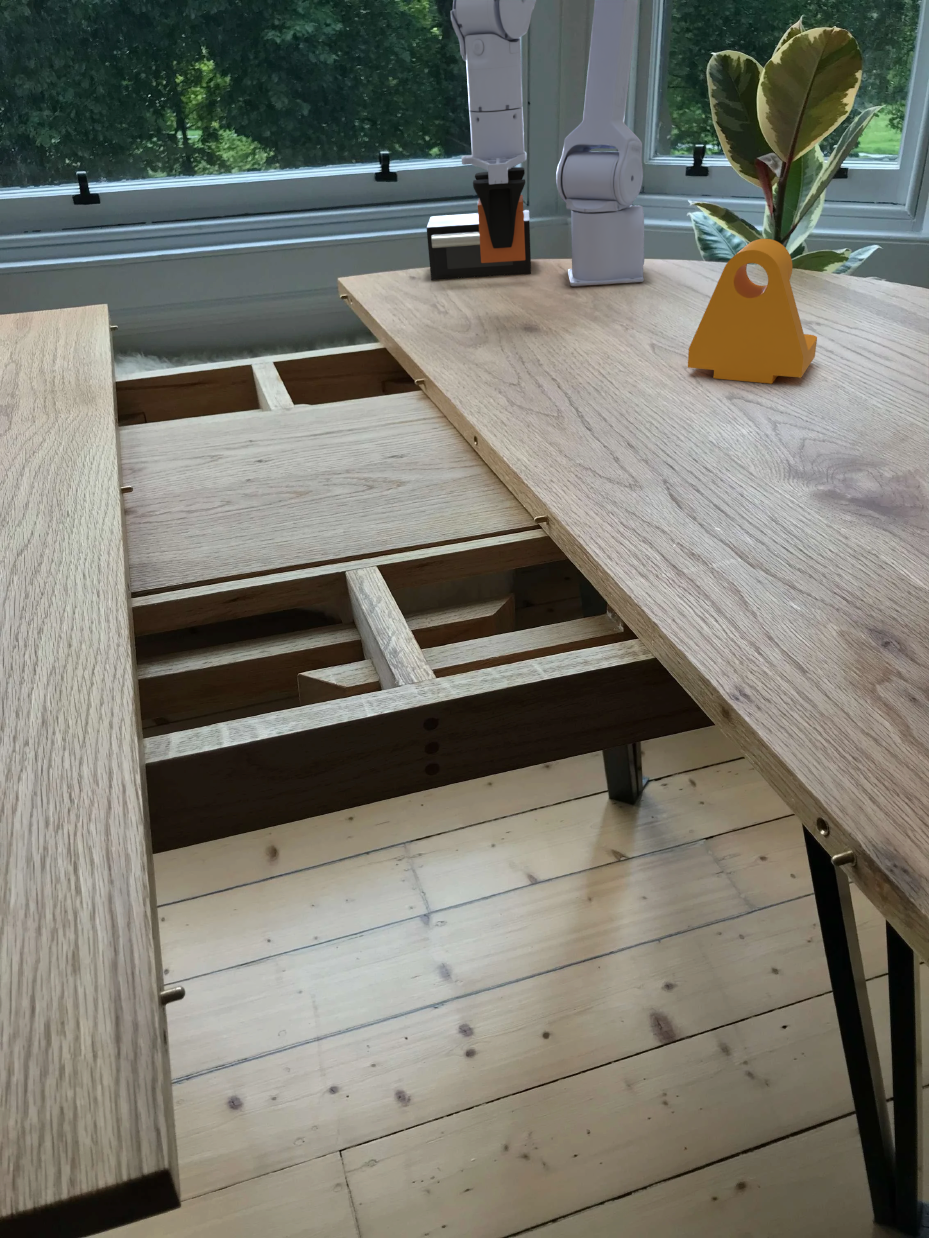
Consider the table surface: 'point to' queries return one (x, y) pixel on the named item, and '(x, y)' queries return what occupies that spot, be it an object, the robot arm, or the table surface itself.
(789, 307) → the bracket
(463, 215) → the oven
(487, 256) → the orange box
